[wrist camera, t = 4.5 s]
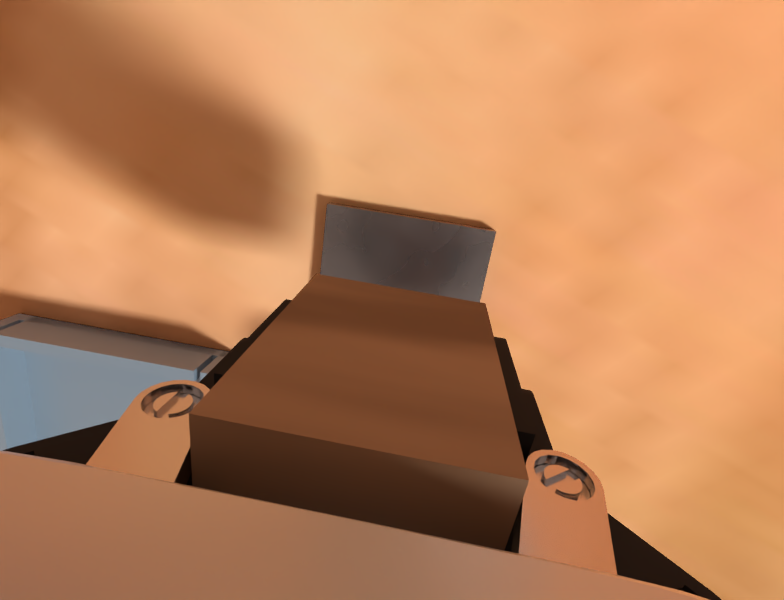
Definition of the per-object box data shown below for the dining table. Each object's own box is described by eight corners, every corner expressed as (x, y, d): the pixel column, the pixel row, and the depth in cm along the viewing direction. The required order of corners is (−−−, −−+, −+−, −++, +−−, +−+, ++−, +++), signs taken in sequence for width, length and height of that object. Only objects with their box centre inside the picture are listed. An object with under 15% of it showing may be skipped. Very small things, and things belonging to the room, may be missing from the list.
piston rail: (329, 202, 18) (327, 203, 17) (494, 229, 17) (495, 231, 17) (297, 531, 24) (294, 539, 23) (419, 556, 23) (418, 564, 23)
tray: (19, 313, 21) (-27, 330, 19) (235, 352, 20) (213, 374, 18) (45, 489, 25) (10, 519, 22) (230, 526, 24) (211, 561, 22)
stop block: (316, 273, 11) (188, 413, 6) (485, 303, 11) (528, 480, 5) (305, 411, 13) (199, 623, 7) (451, 440, 13) (457, 681, 7)
